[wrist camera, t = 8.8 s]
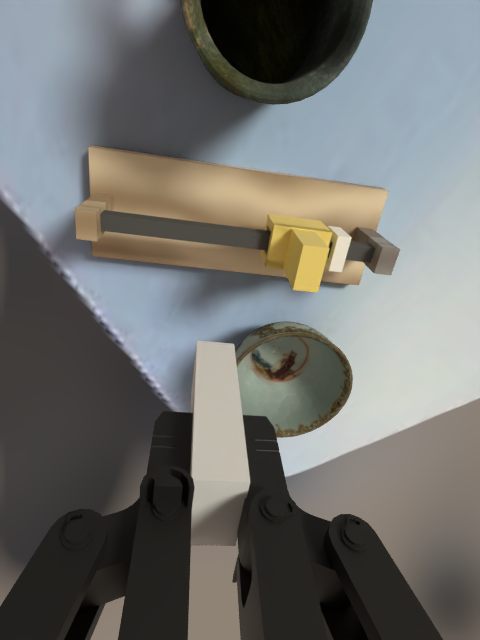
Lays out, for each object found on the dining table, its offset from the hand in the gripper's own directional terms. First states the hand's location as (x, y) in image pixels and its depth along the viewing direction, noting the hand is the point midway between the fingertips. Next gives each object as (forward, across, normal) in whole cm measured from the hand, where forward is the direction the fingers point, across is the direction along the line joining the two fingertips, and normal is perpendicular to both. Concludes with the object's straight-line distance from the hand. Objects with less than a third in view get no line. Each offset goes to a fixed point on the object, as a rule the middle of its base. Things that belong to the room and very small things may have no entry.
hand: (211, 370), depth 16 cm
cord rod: (+21, +3, 0) cm, 21 cm away
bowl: (+26, +10, -15) cm, 32 cm away
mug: (+26, +1, +17) cm, 31 cm away
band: (+22, +12, 0) cm, 25 cm away
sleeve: (+22, +8, 0) cm, 23 cm away
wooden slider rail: (+26, +3, 0) cm, 26 cm away
